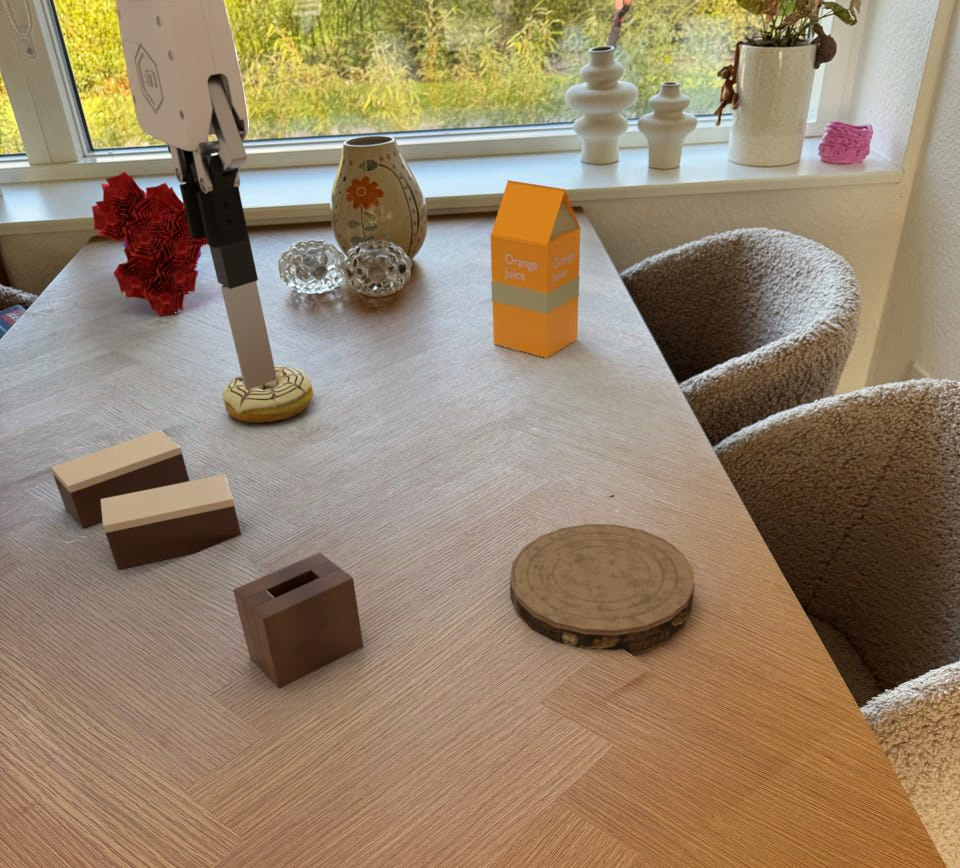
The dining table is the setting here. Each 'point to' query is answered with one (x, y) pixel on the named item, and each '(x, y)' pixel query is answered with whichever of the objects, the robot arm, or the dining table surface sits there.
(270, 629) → the knife block
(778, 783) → the dining table surface
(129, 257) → the bouquet
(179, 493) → the cake slice
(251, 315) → the knife
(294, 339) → the dining table surface
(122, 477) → the cake
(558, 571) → the wood slice coaster
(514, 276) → the orange juice
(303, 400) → the decorated donut
